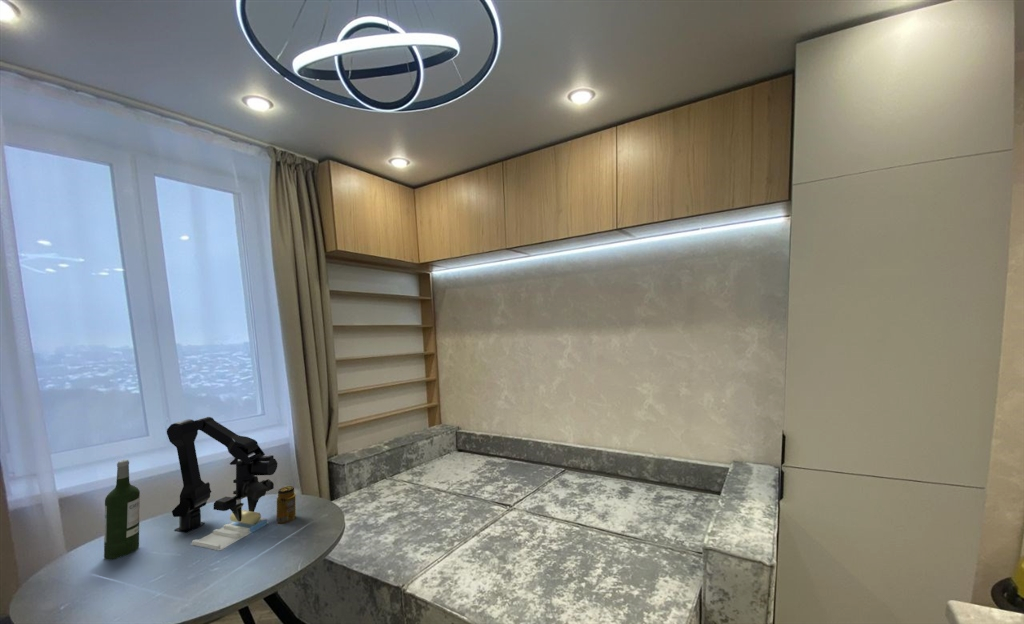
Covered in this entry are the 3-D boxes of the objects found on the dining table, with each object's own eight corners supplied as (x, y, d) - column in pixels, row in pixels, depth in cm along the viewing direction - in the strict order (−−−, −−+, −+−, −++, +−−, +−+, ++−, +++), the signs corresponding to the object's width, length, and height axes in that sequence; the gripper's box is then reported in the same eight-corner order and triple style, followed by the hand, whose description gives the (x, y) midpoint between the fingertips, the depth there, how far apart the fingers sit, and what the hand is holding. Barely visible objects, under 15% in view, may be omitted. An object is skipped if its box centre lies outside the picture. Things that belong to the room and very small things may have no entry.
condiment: (295, 514, 143) (295, 483, 143) (299, 522, 136) (298, 490, 137) (273, 520, 138) (273, 488, 138) (276, 530, 131) (275, 496, 132)
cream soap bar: (230, 523, 134) (230, 512, 134) (241, 518, 138) (241, 507, 138) (250, 527, 131) (250, 515, 131) (260, 521, 135) (260, 510, 135)
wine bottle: (139, 552, 120) (140, 460, 122) (103, 563, 115) (104, 467, 116) (138, 542, 126) (139, 455, 127) (104, 553, 120) (106, 461, 121)
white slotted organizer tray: (190, 545, 123) (190, 539, 123) (242, 518, 140) (242, 513, 140) (219, 551, 119) (219, 545, 119) (269, 523, 136) (269, 518, 136)
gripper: (235, 488, 124) (235, 535, 123) (284, 467, 142) (284, 508, 141) (212, 485, 127) (212, 530, 126) (263, 465, 145) (263, 505, 144)
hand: (245, 518), depth 134 cm, fingers closed on cream soap bar, 4 cm apart
